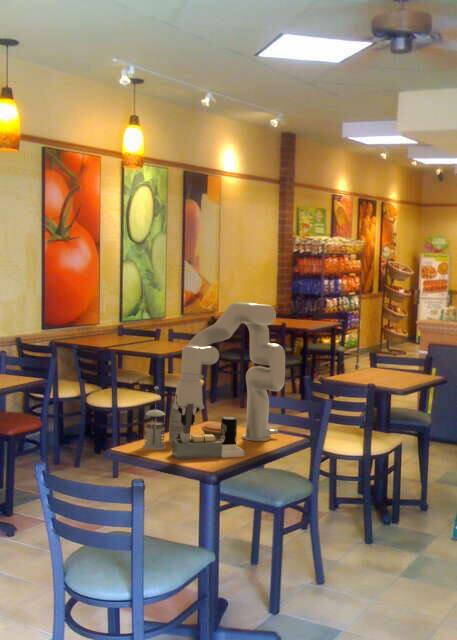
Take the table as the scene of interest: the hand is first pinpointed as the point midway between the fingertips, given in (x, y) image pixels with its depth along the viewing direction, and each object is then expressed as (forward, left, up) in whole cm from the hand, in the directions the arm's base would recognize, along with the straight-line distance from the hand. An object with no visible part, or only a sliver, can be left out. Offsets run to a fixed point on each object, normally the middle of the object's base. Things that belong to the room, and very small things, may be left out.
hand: (187, 424), depth 300 cm
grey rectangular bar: (0, -2, -7) cm, 7 cm away
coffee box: (-3, -26, -13) cm, 29 cm away
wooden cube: (-9, -1, -9) cm, 13 cm away
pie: (-24, -34, -13) cm, 44 cm away
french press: (+9, -18, -13) cm, 24 cm away
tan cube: (-4, -1, -9) cm, 10 cm away
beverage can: (-22, -15, -13) cm, 30 cm away
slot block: (-4, -1, -13) cm, 14 cm away
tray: (-18, -1, -13) cm, 22 cm away
